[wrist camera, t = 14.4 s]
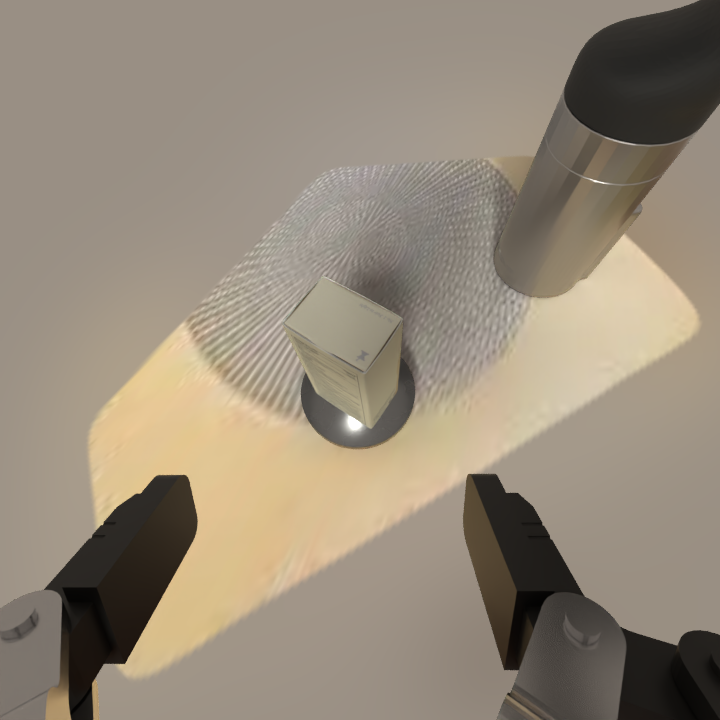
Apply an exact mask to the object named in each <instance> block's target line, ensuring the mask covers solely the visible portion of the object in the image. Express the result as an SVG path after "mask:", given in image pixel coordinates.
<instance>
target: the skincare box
mask: <svg viewBox="0 0 720 720" xmlns="http://www.w3.org/2000/svg"><path fill="white" fill-rule="evenodd" d="M282 325H283V327H284V329H285V331H286V333H287V335H288V337H289V339H290V341H291V343H292V345H293V347H294V349H295V351H296V353H297V355H298V357H299V359H300V361H301V363H302V365H303V367H304V369H305V371H306V373H307V375H308V377H309V379H310V381H311V383H312V385H313V387H314V389H315V391H316V393H317V394H318V395H320V396H321V397H323V398H324V399H326V400H327V401H328V402H330V403H331V404H333V405H334V406H336V407H337V408H339V409H340V410H342V411H343V412H345V413H346V414H348V415H349V416H351V417H352V418H354V419H356V420H357V421H359V422H360V423H362V424H363V425H365V426H367V427H368V428H370V429H372V428H373V427H374V425H375V424H376V422H377V421H378V420H379V418H380V417H381V415H382V414H383V412H384V411H385V409H386V408H387V407H388V405H389V404H390V402H391V400H392V399H393V397H394V396H395V394H396V392H397V390H398V379H399V368H400V356H401V342H402V329H403V318H401V317H400V316H398V315H397V314H395V313H393V312H391V311H390V310H388V309H386V308H385V307H383V306H381V305H379V304H377V303H375V302H374V301H372V300H370V299H368V298H366V297H364V296H362V295H360V294H358V293H357V292H355V291H353V290H351V289H349V288H347V287H345V286H343V285H341V284H339V283H337V282H335V281H333V280H331V279H329V278H327V277H325V276H322V277H321V278H320V279H319V280H318V281H317V283H316V284H315V285H314V286H313V287H312V288H311V289H310V290H309V291H308V293H307V294H306V295H305V296H304V297H303V298H302V299H301V300H300V301H299V303H298V304H297V305H296V306H295V307H294V308H293V310H292V311H291V312H290V313H289V314H288V315H287V316H286V318H285V319H284V320H283V321H282Z"/></svg>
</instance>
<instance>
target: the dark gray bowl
mask: <svg viewBox="0 0 720 720" xmlns="http://www.w3.org/2000/svg"><path fill="white" fill-rule="evenodd" d="M414 398H415V386H414V380H413V377H412V374H411V372H410V370H409V368H408V366H407V364H406V363H405V361H404V360H403V359H402V358H401V357H400V368H399V379H398V390H397V392H396V394H395V396H394V397H393V399H392V400H391V402H390V404H389V405H388V407H387V408H386V409H385V411H384V412H383V414H382V415H381V417H380V418H379V420H378V421H377V422H376V424H375V425H374V427H373V428H372V429H370V428H368V427H367V426H365V425H363V424H362V423H360V422H359V421H357V420H356V419H354V418H352V417H351V416H349V415H348V414H346V413H345V412H343V411H342V410H340V409H339V408H337V407H336V406H334V405H333V404H331V403H330V402H328V401H327V400H326V399H324V398H323V397H321V396H320V395H318V394H317V393H316V391H315V389H314V387H313V385H312V383H311V381H310V379H309V377H308V375H307V373H305V375H304V378H303V382H302V387H301V401H302V406H303V409H304V412H305V415H306V417H307V419H308V421H309V422H310V424H311V425H312V427H313V428H314V429H315V430H316V432H317V433H318V434H319V435H320V436H322V437H323V438H324V439H326V440H327V441H329V442H330V443H333V444H335V445H337V446H340V447H344V448H349V449H367V448H371V447H375V446H378V445H381V444H383V443H385V442H387V441H388V440H390V439H391V438H393V437H394V436H395V435H396V434H397V433H398V432H399V431H400V430H401V429H402V428H403V426H404V425H405V424H406V422H407V420H408V418H409V416H410V414H411V411H412V408H413V404H414Z"/></svg>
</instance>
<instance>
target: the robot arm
mask: <svg viewBox="0 0 720 720" xmlns="http://www.w3.org/2000/svg"><path fill="white" fill-rule="evenodd" d="M719 104H720V0H699V1H697V2H695V3H692V4H690V5H687V6H684V7H681V8H677V9H674V10H670V11H666V12H661V13H656V14H651V15H646V16H641V17H636V18H630V19H626V20H623V21H620V22H617V23H614V24H612V25H610V26H608V27H606V28H604V29H602V30H600V31H599V32H598V33H596V34H595V35H594V36H593V37H592V38H591V39H589V41H588V42H587V43H586V44H585V46H584V47H583V49H582V50H581V52H580V53H579V55H578V57H577V59H576V61H575V64H574V66H573V68H572V70H571V73H570V75H569V77H568V80H567V82H566V85H565V88H564V90H563V93H562V95H561V97H560V100H559V102H558V104H557V106H556V109H555V111H554V113H553V116H552V118H551V121H550V123H549V125H548V128H547V130H546V133H545V135H544V137H543V140H542V142H541V144H540V147H539V149H538V151H537V154H536V156H535V158H534V161H533V163H532V165H531V168H530V170H529V172H528V175H527V177H526V179H525V182H524V184H523V186H522V189H521V191H520V193H519V196H518V198H517V200H516V203H515V205H514V207H513V210H512V212H511V214H510V217H509V219H508V222H507V224H506V226H505V228H504V231H503V233H502V236H501V238H500V240H499V243H498V245H497V247H496V250H495V254H494V264H495V268H496V271H497V272H498V274H499V276H500V277H501V278H502V280H503V281H504V282H505V283H506V284H507V285H509V286H510V287H511V288H513V289H515V290H516V291H518V292H520V293H523V294H526V295H529V296H533V297H554V296H558V295H561V294H563V293H565V292H567V291H568V290H570V289H571V288H572V287H573V286H574V285H575V284H576V282H577V281H579V280H582V279H586V278H588V276H589V275H590V274H591V273H592V271H593V270H594V269H595V268H596V267H597V265H598V264H599V263H600V262H601V261H602V259H603V258H604V257H605V256H606V255H607V253H608V252H609V251H610V250H611V249H612V247H613V246H614V245H615V244H616V243H617V241H618V240H619V239H620V238H621V236H622V235H623V234H624V233H625V232H626V230H627V229H628V228H629V227H630V226H631V224H632V223H633V222H634V221H635V220H636V218H637V217H638V216H639V215H640V213H641V211H642V205H641V204H640V203H641V202H642V200H643V199H644V198H645V197H646V195H647V194H648V193H649V191H650V190H651V189H652V188H653V187H654V185H655V184H656V183H657V182H658V180H659V179H660V178H661V177H662V175H663V174H664V173H665V172H666V170H667V169H668V168H669V166H670V165H671V164H672V163H673V161H674V160H675V159H676V158H677V156H678V155H679V154H680V153H681V151H682V150H683V149H684V148H685V146H686V145H687V144H688V143H689V141H690V140H691V139H692V138H693V136H694V135H695V134H696V133H697V131H698V130H699V129H700V128H701V127H702V125H703V124H704V123H705V122H706V120H707V119H708V118H709V116H710V115H711V114H712V113H713V111H714V110H715V109H716V108H717V106H718V105H719ZM197 522H198V520H197V513H196V509H195V504H194V500H193V496H192V491H191V487H190V482H189V479H188V477H187V476H186V475H158V476H156V477H155V478H154V479H153V480H152V481H151V482H150V483H149V484H148V486H147V487H146V488H145V489H144V490H143V492H142V493H141V494H135V495H134V496H132V497H131V498H129V499H128V500H126V501H125V502H124V503H122V504H121V505H119V506H118V507H117V508H116V509H115V510H114V511H113V512H112V513H111V515H110V516H109V517H108V518H107V519H106V520H105V521H104V524H103V525H101V526H100V527H99V528H98V529H97V530H96V532H95V533H94V534H93V535H92V538H91V539H89V540H88V541H87V542H86V543H85V544H84V545H83V546H82V547H81V548H80V550H79V551H78V552H77V553H76V554H75V555H74V556H73V557H72V559H71V560H70V561H69V562H68V563H67V564H66V566H65V567H64V568H63V569H62V570H61V571H60V572H59V573H58V574H57V576H56V577H55V578H54V579H53V580H52V581H51V582H50V583H49V585H48V586H47V587H46V588H45V589H44V590H41V591H36V592H32V593H29V594H26V595H24V596H21V597H19V598H17V599H15V600H13V601H11V602H10V603H8V604H7V605H5V606H3V607H2V608H0V720H99V704H98V703H99V701H98V686H97V682H96V679H95V678H96V676H97V674H98V673H99V671H100V669H101V668H102V666H103V664H125V663H126V661H127V659H128V657H129V656H130V654H131V652H132V650H133V648H134V647H135V645H136V643H137V641H138V639H139V638H140V636H141V634H142V632H143V630H144V628H145V627H146V625H147V623H148V621H149V619H150V618H151V616H152V614H153V612H154V610H155V609H156V607H157V605H158V603H159V601H160V600H161V598H162V596H163V594H164V592H165V591H166V589H167V587H168V585H169V583H170V582H171V580H172V578H173V576H174V574H175V573H176V571H177V569H178V567H179V565H180V564H181V562H182V560H183V558H184V556H185V555H186V553H187V551H188V549H189V547H190V546H191V544H192V542H193V540H194V538H195V535H196V531H197ZM463 527H464V535H465V540H466V544H467V547H468V550H469V553H470V557H471V560H472V563H473V567H474V570H475V574H476V577H477V581H478V583H479V587H480V591H481V594H482V597H483V601H484V604H485V607H486V611H487V614H488V617H489V621H490V624H491V627H492V630H493V634H494V637H495V641H496V644H497V648H498V651H499V654H500V658H501V661H502V664H503V668H504V670H519V672H518V674H517V678H516V680H515V683H514V686H513V688H512V690H511V693H508V694H507V695H506V697H505V699H504V702H503V704H502V706H501V709H500V711H499V714H498V717H497V720H720V635H718V634H715V633H711V632H708V631H701V630H699V631H690V632H687V633H685V634H684V635H683V636H682V637H681V639H680V641H679V643H678V646H676V645H673V644H669V643H666V642H663V641H660V640H656V639H653V638H650V637H646V636H643V635H640V634H637V633H634V632H631V631H628V630H626V629H624V628H622V627H620V626H619V625H618V623H617V622H616V621H615V619H614V618H613V617H612V616H611V615H610V614H609V613H608V612H607V611H606V610H605V609H604V608H602V607H601V606H600V605H598V604H597V603H595V602H594V601H592V600H590V599H588V598H586V597H585V596H584V595H583V593H582V592H581V590H580V588H579V586H578V585H577V583H576V581H575V579H574V578H573V576H572V574H571V572H570V570H569V569H568V567H567V565H566V563H565V562H564V560H563V558H562V556H561V555H560V553H559V551H558V549H557V548H556V546H555V544H554V542H553V541H552V540H551V539H550V535H549V534H548V532H547V530H546V528H545V527H544V526H543V525H542V521H541V520H540V518H539V516H538V514H537V513H536V511H535V509H534V507H533V506H532V505H531V504H530V503H528V502H527V501H526V500H525V499H524V498H523V497H521V495H519V494H518V493H506V492H505V490H504V488H503V486H502V484H501V482H500V480H499V478H498V476H497V475H496V474H468V476H467V480H466V492H465V503H464V514H463Z"/></svg>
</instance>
